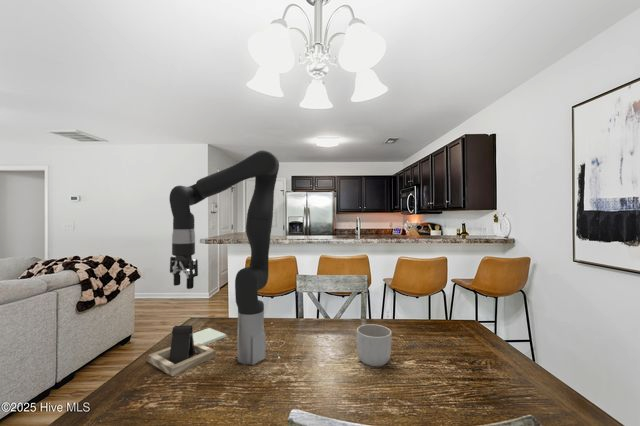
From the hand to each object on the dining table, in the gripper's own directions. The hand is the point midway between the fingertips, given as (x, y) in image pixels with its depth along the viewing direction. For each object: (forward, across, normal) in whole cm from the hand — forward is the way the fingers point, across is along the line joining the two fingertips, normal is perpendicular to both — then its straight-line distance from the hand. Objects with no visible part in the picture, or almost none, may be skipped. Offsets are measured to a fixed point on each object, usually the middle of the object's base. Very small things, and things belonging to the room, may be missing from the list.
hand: (183, 286), depth 107 cm
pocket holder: (+26, 0, 0) cm, 26 cm away
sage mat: (+26, +10, -16) cm, 32 cm away
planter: (+26, -56, -40) cm, 74 cm away
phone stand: (+26, 0, 0) cm, 26 cm away
